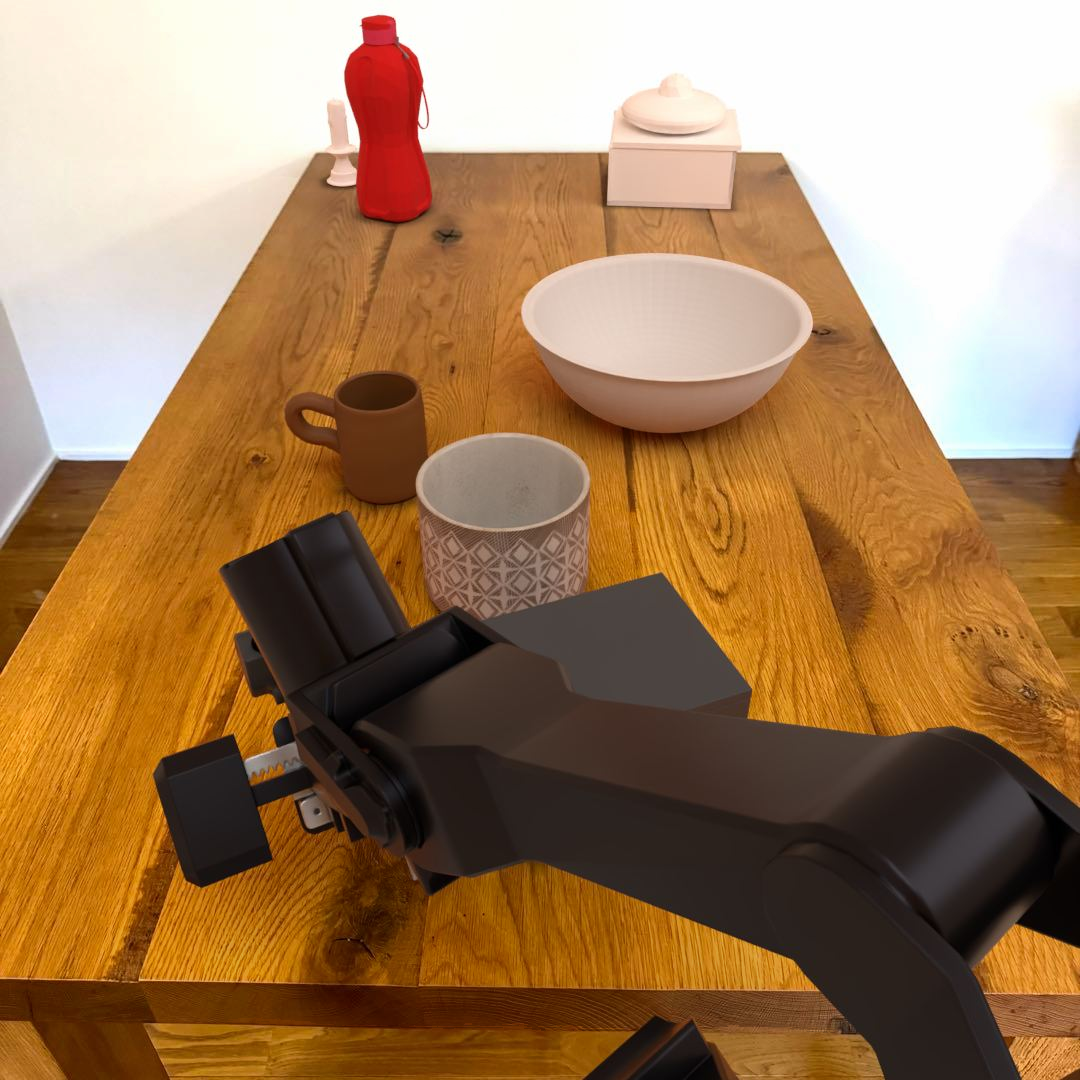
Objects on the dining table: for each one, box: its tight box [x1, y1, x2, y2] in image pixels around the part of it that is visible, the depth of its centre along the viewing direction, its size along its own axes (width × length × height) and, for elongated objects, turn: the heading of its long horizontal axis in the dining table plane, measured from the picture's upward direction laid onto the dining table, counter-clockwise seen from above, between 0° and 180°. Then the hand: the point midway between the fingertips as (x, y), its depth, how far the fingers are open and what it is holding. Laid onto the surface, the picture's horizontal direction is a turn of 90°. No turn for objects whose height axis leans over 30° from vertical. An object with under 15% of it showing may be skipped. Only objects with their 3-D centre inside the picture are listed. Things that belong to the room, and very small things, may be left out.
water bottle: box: [343, 14, 433, 223], centre depth 138 cm, size 9×11×25 cm
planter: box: [416, 432, 591, 621], centre depth 79 cm, size 13×13×10 cm
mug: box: [284, 369, 429, 505], centre depth 90 cm, size 12×8×9 cm, turn 90°
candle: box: [324, 97, 358, 188], centre depth 153 cm, size 5×5×12 cm
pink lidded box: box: [606, 72, 743, 210], centre depth 149 cm, size 18×18×16 cm
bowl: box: [520, 252, 814, 434], centre depth 101 cm, size 27×27×10 cm
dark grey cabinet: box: [481, 571, 753, 719], centre depth 66 cm, size 14×12×9 cm
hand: (338, 750), depth 59 cm, fingers closed
